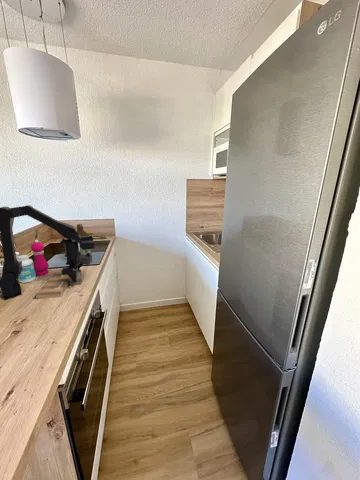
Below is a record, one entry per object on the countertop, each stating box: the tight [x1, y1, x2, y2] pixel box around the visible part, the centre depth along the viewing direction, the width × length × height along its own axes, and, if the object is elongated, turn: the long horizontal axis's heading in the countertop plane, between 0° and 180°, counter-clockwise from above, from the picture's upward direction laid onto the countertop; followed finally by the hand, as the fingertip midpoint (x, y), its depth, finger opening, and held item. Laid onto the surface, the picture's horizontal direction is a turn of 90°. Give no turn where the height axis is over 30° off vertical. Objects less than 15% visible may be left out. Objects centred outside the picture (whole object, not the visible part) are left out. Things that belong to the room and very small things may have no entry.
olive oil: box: [72, 223, 93, 266], centre depth 132 cm, size 11×11×25 cm
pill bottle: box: [16, 254, 37, 284], centre depth 108 cm, size 8×7×14 cm
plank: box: [35, 271, 70, 300], centre depth 103 cm, size 23×10×3 cm, turn 12°
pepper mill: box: [30, 239, 50, 277], centre depth 115 cm, size 7×7×20 cm
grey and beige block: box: [61, 269, 83, 286], centre depth 105 cm, size 4×9×6 cm, turn 104°
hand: (76, 280), depth 106 cm, fingers closed on grey and beige block, 4 cm apart
